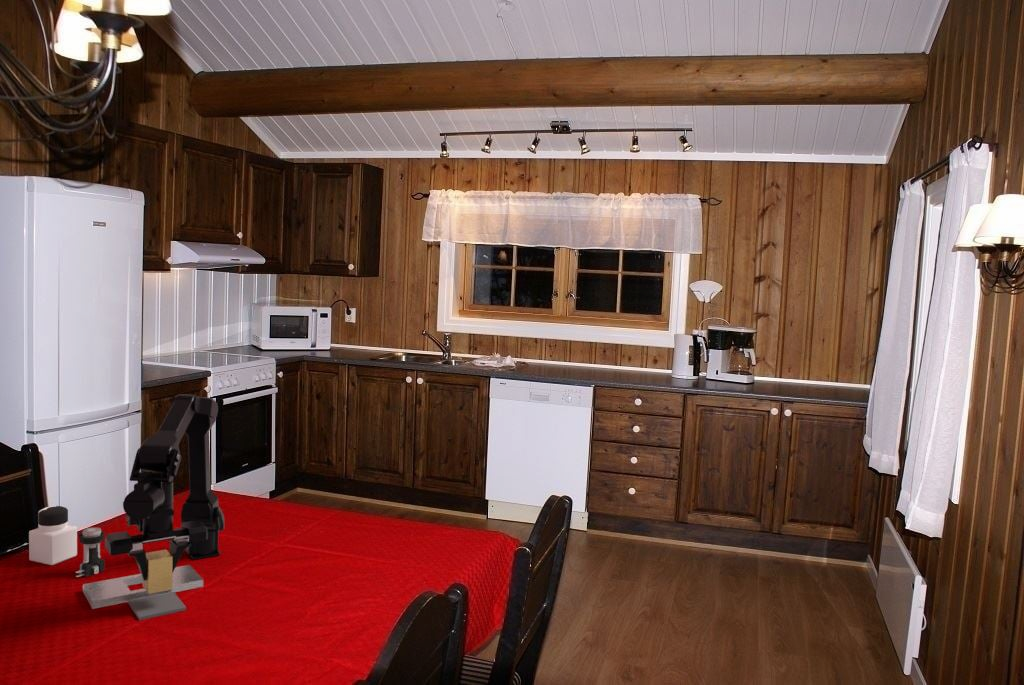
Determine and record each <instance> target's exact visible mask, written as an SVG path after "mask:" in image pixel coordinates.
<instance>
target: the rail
mask: <svg viewBox="0 0 1024 685" xmlns="http://www.w3.org/2000/svg"><path fill="white" fill-rule="evenodd" d="M138 584H143V578H142V575H141V573H138V574H132V575H127V576H121V577H116V578H115V577H114V578H110V579H105V580H100V581H93V582H88V583H84V584H82V593H83V595H84V596H85V598H86V599H87V602H88V603H89V605H90V607H91V609H92V610H94V609H99V608H104V607H109V606H114V605H118V604H119V605H120V604H124V603H128V601H131V600H136V599H141V598H146V597H150V596H155V595H160V594H165V593H170V592H174V593H179V592H184V591H188V590H194V589H199V588H203V587H204V578H203V577H202V576H201V575H200V574H199V573H198V572H197V570H195V569H194V567H192V566H191V564H188V565H186V564H185V565H181V566H176V567H175V569H174V571H173V574H172V589H171V590H166V591H161V592H156V593H151V594H148V593H147V591H146V590H145V589H144V588H140V589H139V588H138V589H134V590H130V588H129V586H134V585H138Z"/></svg>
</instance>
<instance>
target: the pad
mask: <svg viewBox="0 0 1024 685" xmlns="http://www.w3.org/2000/svg"><path fill="white" fill-rule="evenodd" d="M127 603H128V606H130V609H131V610H132V611H133V613H134V614H135V616H136V618H137V619H138V620H139V621H143V620H147V619H152V618H157V617H161V616H165V615H169V614H174V613H179V612H183V611H187V606H186V605H185V604H184V602H182V600H181V599H180V598H179V597H178V595H177V593H176V592H170V593H165V594H160V595H155V596H150V597H146V598H141V599H136V600H131V601H128V602H127Z"/></svg>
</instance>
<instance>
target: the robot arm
mask: <svg viewBox="0 0 1024 685" xmlns="http://www.w3.org/2000/svg"><path fill="white" fill-rule="evenodd" d="M171 404H172V405H171V407H170V409H169V410H168V412H167V414H166V416H165V418H164V420H163V422H162V423H161V425H160V427H159V428H158V431H157V432H156V433H154V434H152V435H150V436H147V438H146V439H145V440H144V441H143V442H142V444H141V445H140V447H139V448H138V449H137V450H136V452H135V453H136V454H135V457H134V461H133V465H132V469H131V472H130V477H129V482H132V481H133V482H136V483H135V484H133V490H132V491H130V492H129V493H128V494H126V496H125V497H124V500H123V502H122V506H123V507H122V508H123V511H124V513H125V514H126V525H127V526H128V527H132V526H136V530H138V531H139V533H141V534H135V535H130V534H129V533H128V531H127V530H126V531H125V530H124V531H118V532H112V533H108V534H107V535H105V536H106V537H104V548H105V549H106V550H107V552H108V554H109V555H110V556H121V555H125V554H126V555H128V556H129V557H133V558H134V559H135V561H136V564H137V566H138V569H139V572H140V574H141V575H142V578H143V580H144V581H145V580H146V577H147V567H146V553H147V552H146V551H145V549H144V548H143V545H144V544H150V543H156V542H162V541H168V544H169V551H168V552H169V553H170V554H171V555H172V556H173V557H172V574H173V571H174V569H175V567H177V564H178V563H179V561H180V559H181V557H182V555H183V554H184V552H186V553H187V555H188V556H189V557H190V558H191V559H193V560H198V559H203V558H205V559H206V558H210V557H216V556H220V555H221V551H220V550H219V532H221V531H223V530H225V516H224V513H223V510H222V509H221V507H220V505H219V498H218V496H217V495H216V494H215V492H214V491H213V489H212V486H211V485H212V484H211V459H210V458H211V454H210V431H211V429H212V427H213V425H215V423H216V421H217V417H218V413H219V405H218V402H217V401H216V400H214V398H213V397H208V396H207V397H206V396H205V397H204V396H203V397H202V396H197V395H196V394H183V393H182V394H177V395H174V396H173V398H172V403H171ZM184 435H187V448H188V449H187V452H188V472H189V473H188V475H189V476H188V478H189V480H188V481H189V495H187V498H186V499H185V501H184V503H183V504H182V505H181V512H180V521H181V524H180V527H179V528H173V527H174V516H175V510H174V477H176V476H177V474H178V470H179V467H180V463H181V462H182V455H181V450H180V447H179V445H180V442H181V440H182V439H183V436H184Z"/></svg>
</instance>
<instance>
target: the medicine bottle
mask: <svg viewBox="0 0 1024 685" xmlns="http://www.w3.org/2000/svg"><path fill="white" fill-rule="evenodd" d="M37 513H38V514H37V517H38V518H37V519H38V520H37V521H38V526H37V528H35V529H32V530H29V532H28V548H29V549H28V552H29V553H28V554H29V555H28V556H29V557H28V560H29V561H32V562H34V563H35V562H36V563H41V564H45V565H49V566H53V565H57V564H59V563H62V562H64V561H67V560H69V559H71V558H74V557H76V556H77V555H78V527H77V526H75V525H70V524H69V510H68V508H67V507H64V506H60V505H51V506H46V507H44V508H42V509H39V510H38V512H37Z"/></svg>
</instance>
